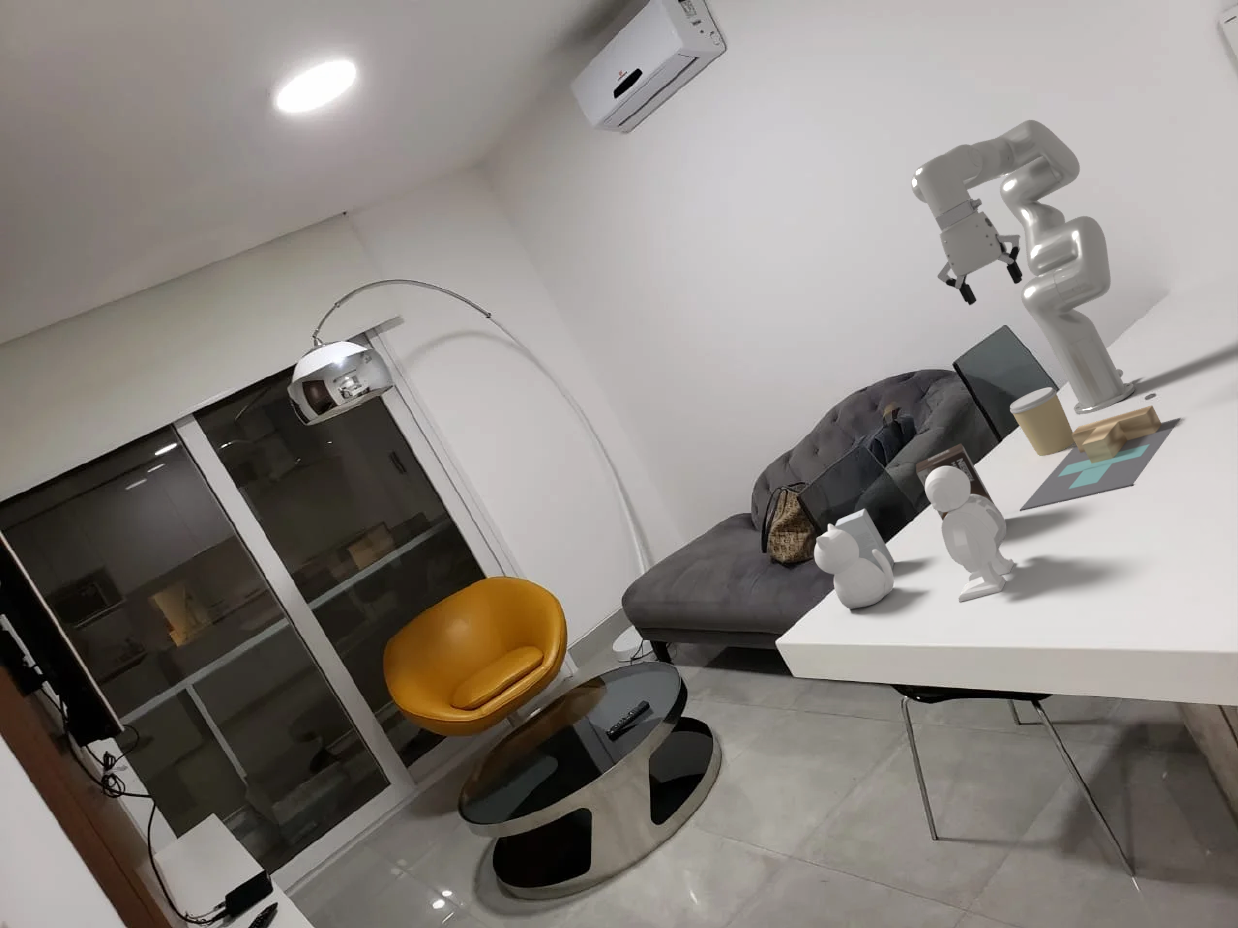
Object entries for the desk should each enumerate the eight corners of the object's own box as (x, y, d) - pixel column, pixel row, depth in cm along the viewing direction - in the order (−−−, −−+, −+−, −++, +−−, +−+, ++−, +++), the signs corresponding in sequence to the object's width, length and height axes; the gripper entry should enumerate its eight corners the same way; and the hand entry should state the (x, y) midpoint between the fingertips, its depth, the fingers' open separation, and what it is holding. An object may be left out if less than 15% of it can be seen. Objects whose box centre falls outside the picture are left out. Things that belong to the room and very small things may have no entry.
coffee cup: (1069, 435, 187) (1043, 385, 187) (1088, 439, 178) (1061, 387, 177) (1027, 456, 189) (1002, 406, 188) (1044, 461, 180) (1017, 409, 179)
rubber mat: (1075, 447, 178) (1074, 446, 178) (1181, 419, 162) (1180, 417, 162) (1020, 510, 161) (1019, 509, 161) (1133, 485, 145) (1132, 484, 145)
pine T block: (1087, 444, 175) (1078, 426, 174) (1161, 424, 164) (1152, 405, 163) (1065, 470, 167) (1056, 451, 167) (1141, 450, 156) (1131, 431, 156)
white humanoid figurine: (977, 567, 147) (922, 461, 145) (1031, 553, 141) (973, 443, 139) (956, 607, 136) (896, 494, 135) (1012, 594, 130) (950, 476, 129)
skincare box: (895, 561, 170) (866, 507, 169) (892, 570, 166) (863, 514, 165) (866, 572, 173) (837, 519, 172) (863, 581, 169) (833, 526, 168)
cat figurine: (850, 596, 165) (813, 526, 164) (911, 579, 157) (872, 505, 156) (834, 620, 158) (795, 547, 157) (897, 603, 150) (856, 526, 149)
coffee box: (1003, 518, 162) (962, 441, 160) (1006, 529, 156) (964, 449, 154) (954, 538, 165) (914, 463, 164) (956, 550, 159) (915, 471, 158)
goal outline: (1068, 466, 169) (1067, 465, 169) (1150, 445, 158) (1149, 444, 157) (1042, 496, 162) (1041, 495, 162) (1127, 477, 150) (1126, 475, 150)
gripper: (1003, 191, 174) (1042, 269, 175) (924, 234, 186) (961, 306, 187) (992, 197, 169) (1033, 277, 170) (912, 241, 180) (950, 315, 182)
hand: (995, 292), depth 178 cm, fingers open, 9 cm apart
